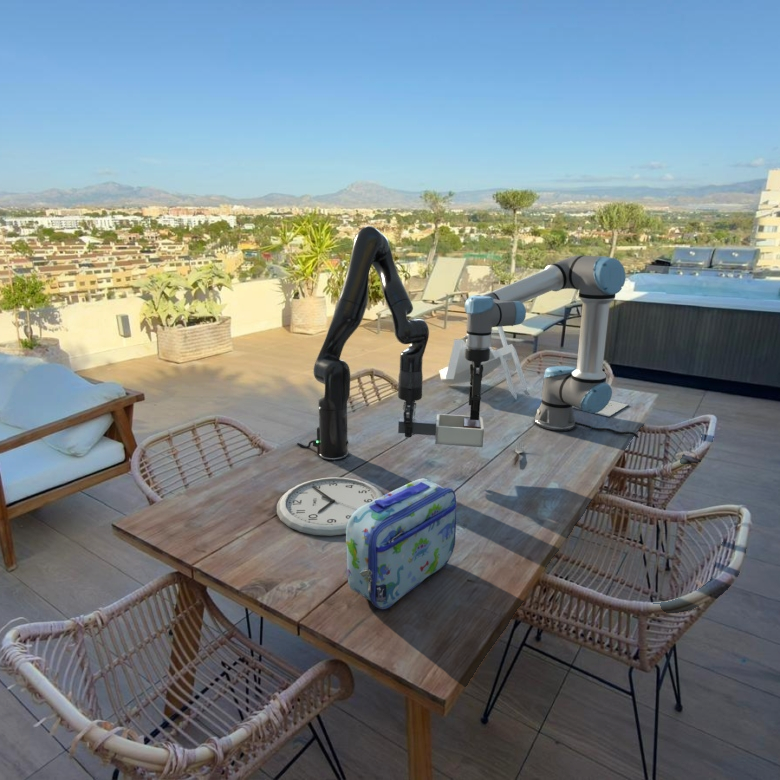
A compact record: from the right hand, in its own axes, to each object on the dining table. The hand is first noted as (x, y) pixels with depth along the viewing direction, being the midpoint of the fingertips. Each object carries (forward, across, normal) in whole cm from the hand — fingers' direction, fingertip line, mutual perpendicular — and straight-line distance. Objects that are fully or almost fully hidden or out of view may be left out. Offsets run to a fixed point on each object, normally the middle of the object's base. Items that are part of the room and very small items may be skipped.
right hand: (473, 412), depth 167 cm
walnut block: (+5, 0, 0) cm, 5 cm away
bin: (+8, +3, -10) cm, 13 cm away
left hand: (+8, +3, -20) cm, 22 cm away
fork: (+17, -4, +16) cm, 23 cm away
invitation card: (+17, -63, +58) cm, 88 cm away
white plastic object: (+17, -75, +6) cm, 78 cm away
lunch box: (+16, +64, -16) cm, 69 cm away
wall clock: (+16, +35, -38) cm, 55 cm away
